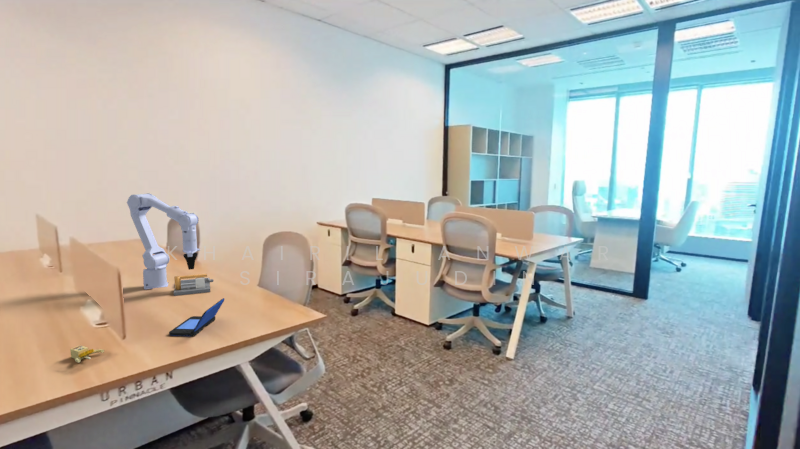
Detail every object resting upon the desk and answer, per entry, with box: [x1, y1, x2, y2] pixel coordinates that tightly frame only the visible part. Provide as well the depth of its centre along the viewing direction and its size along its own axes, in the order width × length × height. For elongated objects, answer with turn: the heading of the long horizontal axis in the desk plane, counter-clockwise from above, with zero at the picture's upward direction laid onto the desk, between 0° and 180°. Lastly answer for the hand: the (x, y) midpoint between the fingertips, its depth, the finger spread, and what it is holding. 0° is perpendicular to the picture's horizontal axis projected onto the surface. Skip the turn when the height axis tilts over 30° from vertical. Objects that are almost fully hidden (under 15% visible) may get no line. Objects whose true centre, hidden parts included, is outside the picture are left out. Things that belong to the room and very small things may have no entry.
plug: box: [195, 277, 214, 289], centre depth 188 cm, size 7×4×6 cm, turn 116°
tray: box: [181, 277, 211, 286], centre depth 196 cm, size 14×8×2 cm, turn 116°
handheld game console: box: [168, 298, 225, 338], centre depth 146 cm, size 16×13×9 cm
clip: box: [174, 273, 208, 290], centre depth 185 cm, size 13×2×6 cm, turn 116°
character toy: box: [70, 344, 105, 363], centre depth 122 cm, size 8×3×8 cm
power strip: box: [173, 283, 211, 297], centre depth 186 cm, size 14×9×2 cm, turn 116°
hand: (191, 269), depth 189 cm, fingers closed
